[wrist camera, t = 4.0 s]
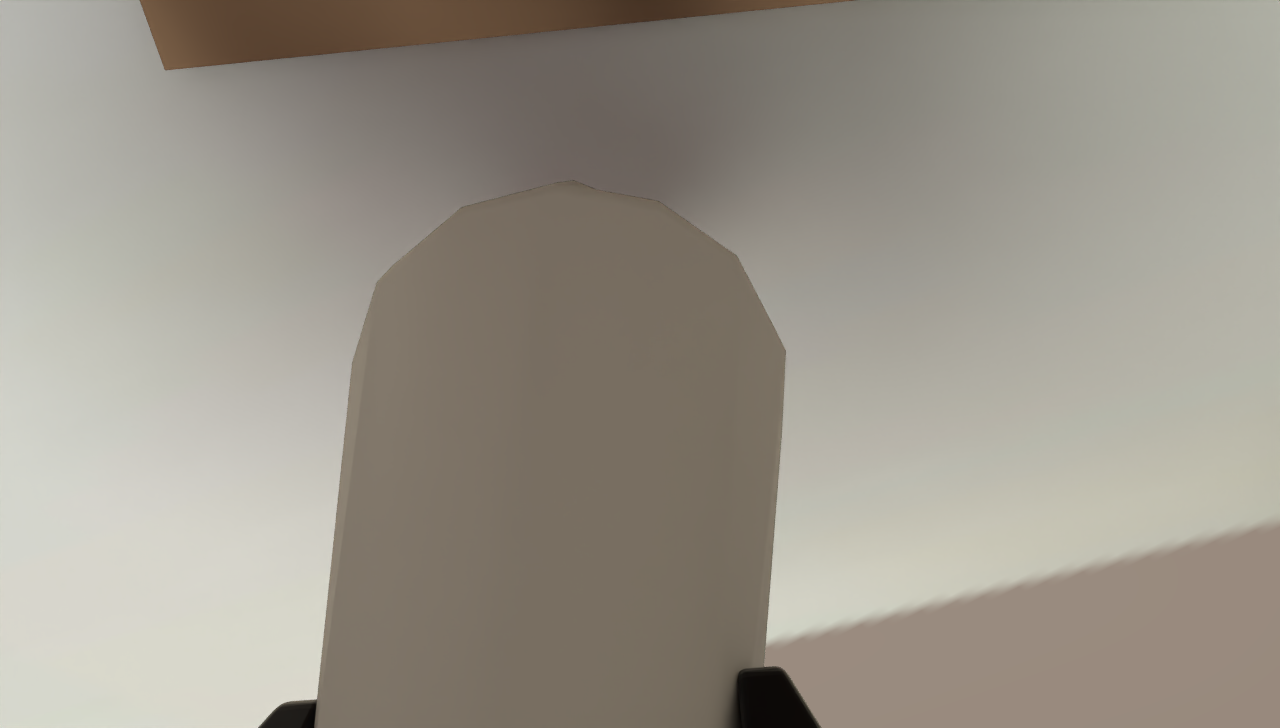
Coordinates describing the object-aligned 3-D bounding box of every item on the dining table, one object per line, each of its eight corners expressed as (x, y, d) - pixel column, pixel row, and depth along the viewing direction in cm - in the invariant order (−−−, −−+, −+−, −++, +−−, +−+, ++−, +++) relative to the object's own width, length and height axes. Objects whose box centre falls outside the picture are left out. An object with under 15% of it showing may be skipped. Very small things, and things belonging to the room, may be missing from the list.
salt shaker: (568, 507, 17) (437, 1812, 6) (317, 290, 15) (-560, 1759, 4) (842, 323, 15) (1331, 1791, 4) (598, 40, 13) (336, 1668, 2)
